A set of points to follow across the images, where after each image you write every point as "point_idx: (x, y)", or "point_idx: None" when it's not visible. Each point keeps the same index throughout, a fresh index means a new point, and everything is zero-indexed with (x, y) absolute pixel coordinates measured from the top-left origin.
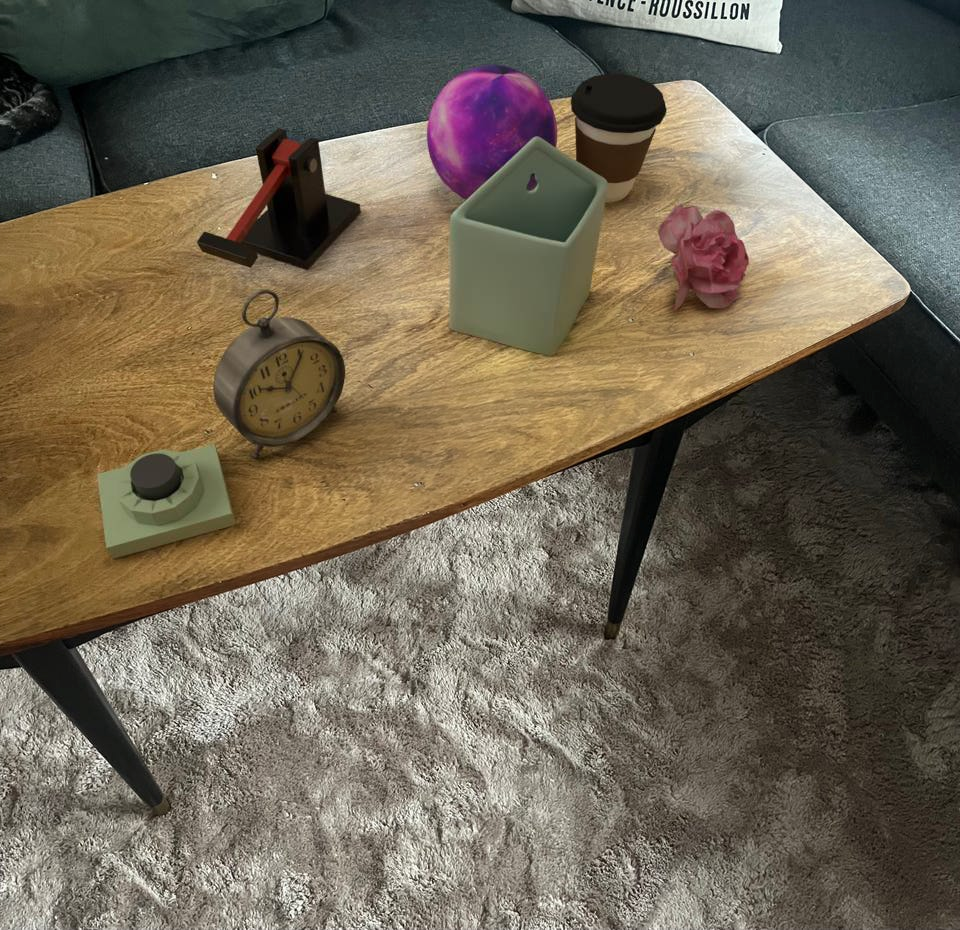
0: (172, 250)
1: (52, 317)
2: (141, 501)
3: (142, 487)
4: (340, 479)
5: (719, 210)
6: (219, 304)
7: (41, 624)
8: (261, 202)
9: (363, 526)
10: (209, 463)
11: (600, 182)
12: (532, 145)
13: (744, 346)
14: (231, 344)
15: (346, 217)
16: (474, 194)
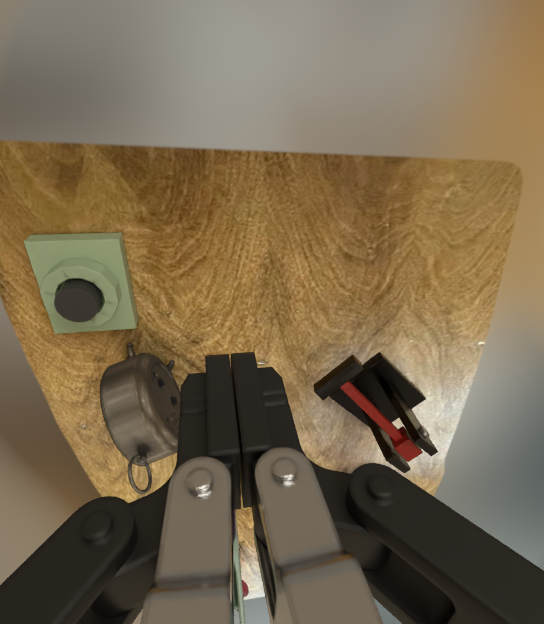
0: (404, 306)
1: (366, 199)
2: (55, 285)
3: (56, 296)
4: (97, 388)
5: (243, 597)
6: (317, 333)
7: None
8: (369, 415)
9: (48, 396)
10: (114, 323)
11: (238, 610)
12: None
13: None
14: (147, 419)
15: (366, 424)
16: (238, 579)
